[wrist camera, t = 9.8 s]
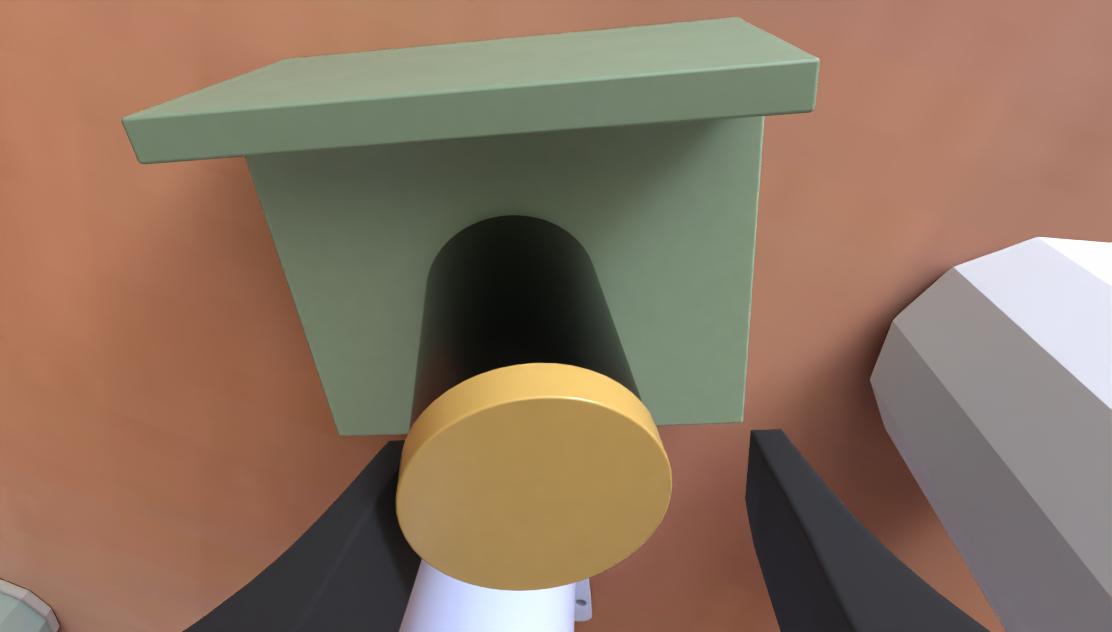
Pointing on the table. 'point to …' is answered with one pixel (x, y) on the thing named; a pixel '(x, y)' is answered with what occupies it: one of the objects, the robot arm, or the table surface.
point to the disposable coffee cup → (24, 611)
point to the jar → (1014, 425)
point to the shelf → (510, 189)
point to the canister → (525, 417)
